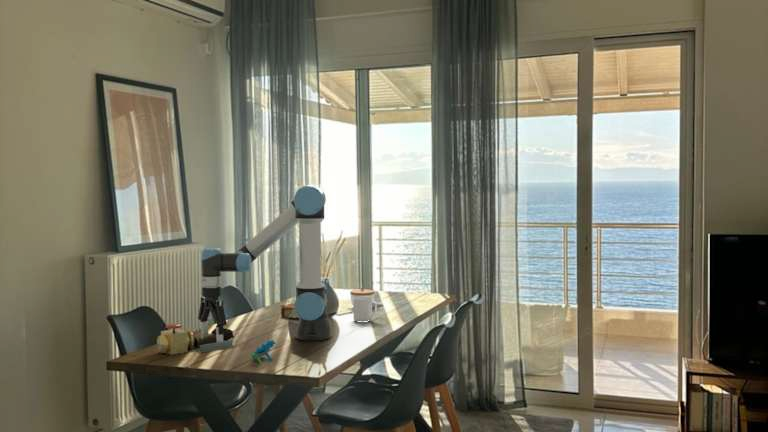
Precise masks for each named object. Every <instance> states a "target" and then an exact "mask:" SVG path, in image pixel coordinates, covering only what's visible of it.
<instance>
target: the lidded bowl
mask: <svg viewBox="0 0 768 432" xmlns="http://www.w3.org/2000/svg"><path fill="white" fill-rule="evenodd" d="M360 296H366V297H372V302H373V301H375V299H374V298H375V290H373V289H367V288H366V289H364V287H361V288H360V289H359V288H358V289H352V290H350V301H351V304H352V305H353V298H354V297H360Z"/></svg>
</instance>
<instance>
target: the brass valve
mask: <svg viewBox="0 0 768 432" xmlns="http://www.w3.org/2000/svg"><path fill="white" fill-rule="evenodd" d="M165 328H166V329H168V330H161V331H160V335H158V336H157V338H156V339H157V340H156V347H157V350H158V351H159V353H161V354H166V353H167V354H166V355H169V354H170V355H169V356H173V355H172V354H175V355H179V354H178V353H181V354H184V353H183V352H186V353H188V352H189V350H192V348H193V347H194V337H195V335H194V333H193V331H192V330H191V329H185V330H183V329H180V328H183V324H182V323H179V322H178V323H177V322H176V323H168V324H165Z"/></svg>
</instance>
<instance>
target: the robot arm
mask: <svg viewBox="0 0 768 432" xmlns="http://www.w3.org/2000/svg"><path fill="white" fill-rule="evenodd" d="M326 200H327V199H326V195H325V192H324V190H323V189H321V188H320V187H319V186H317V185H312V184H308V185H307V184H306V185H303V186H301V187H300V188H298V189H297V190H296V192H295V194H294V197H293V200H292V201H291V202H290V206H289V207H288V208H286V209H284V211H283V212H281V213H280V215H278V216H276V218H274V219H273V220H272V221H271V222H270V223H269V224H267V226H265V227H264V228H263V229H262V230H260V232H258V233H257V234H256V235H255V236H254V237H252V238H251V239H250V240H249V241H248V242H247V243H246V244H244V245H243V246H242V247H240V248H239V249H238V250H237V251H236V252H232V253H230V252H227V253H226V252H225V253H223V252H221V250H222V249H221V248H219V247H207V248H203V249H202V250H201V259H200V260H201V261H200V262H201V286H202V288H201V296H202V297H200V305H199V310H198V311H199V312H198V317H197V320H199V321H200V323H201V324H200V325H201V328H200V329H201V335H206V334H209V316H210V314H211V312H212V313H213V316H214V319H215V322H216V325H215V327H216V328H215V329H216V342H222V341H223V328H224V326H226V325H227V319H226V313H225V309H224V301H223V300H220V299H219V298H220V297H221V295H222V287H221V286H222V272H223V273H224V272H225V273H227V272H228V273H229V272H231V273H232V272H234V273H235V272H236V273H243V272H244V273H245V272H249V271H250V270H251V268H252V263H253V262H254V261H255V260H257V259H258V258H259V257H260V256H261V255H262V254H263V253H264V252H265V251H267V250H268V249H269V248H271V247H272V245H274V244H275V243H277V242H278V241H279V240H280V239H282V237H284V236H285V235H286V234H287V233H289V231H291V230H292V228H294V227H295V226H296V225H298V224H299V225H298V227H299V229H298V230H299V235H298V236H299V238H298V239H299V244H298V246H299V252H298V253H299V282H298V283H297V284H296V286H295V301H294V304H295V310H296V313H297V314H298V316H299V317H300V319H298V320H299V321H298V324H297V327H296V331H295V339H297V340H300V341H314V342H315V341H325V340H328V339H330V338H331V337H332V329H331V327H330V323H329V321H328V316H327V302H328V294H327V293H328V286H327V285H326V283H323V282H322V263H321V262H322V259H321V258H322V257H321V255H322V254H321V253H322V250H321V249H322V248H321V247H322V246H321V245H322V243H321V242H322V240H321V238H322V237H321V236H322V235H321V231H322V230H321V229H322V228H321V223H322V222H323V221H324V220H325V206H326V205H325V204H326Z"/></svg>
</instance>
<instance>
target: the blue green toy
mask: <svg viewBox="0 0 768 432" xmlns="http://www.w3.org/2000/svg"><path fill="white" fill-rule="evenodd" d="M275 344H276V342H275V340H274V339H271V340H267V341H266V343H262V344H261V346H260V347H257V348H256V349H255V351H252V352H251V353H250V355H251V358H252V359H253V360H257V361H258V362H259V363H260V364H261V363H262V362H263V361H262V359H260V358H261V357H263V356H266V358H267V359H268V360H269V361H272V360H273V358H272V357H271V355H270V354H269V351H271V349H272V348H274V346H275Z"/></svg>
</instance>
